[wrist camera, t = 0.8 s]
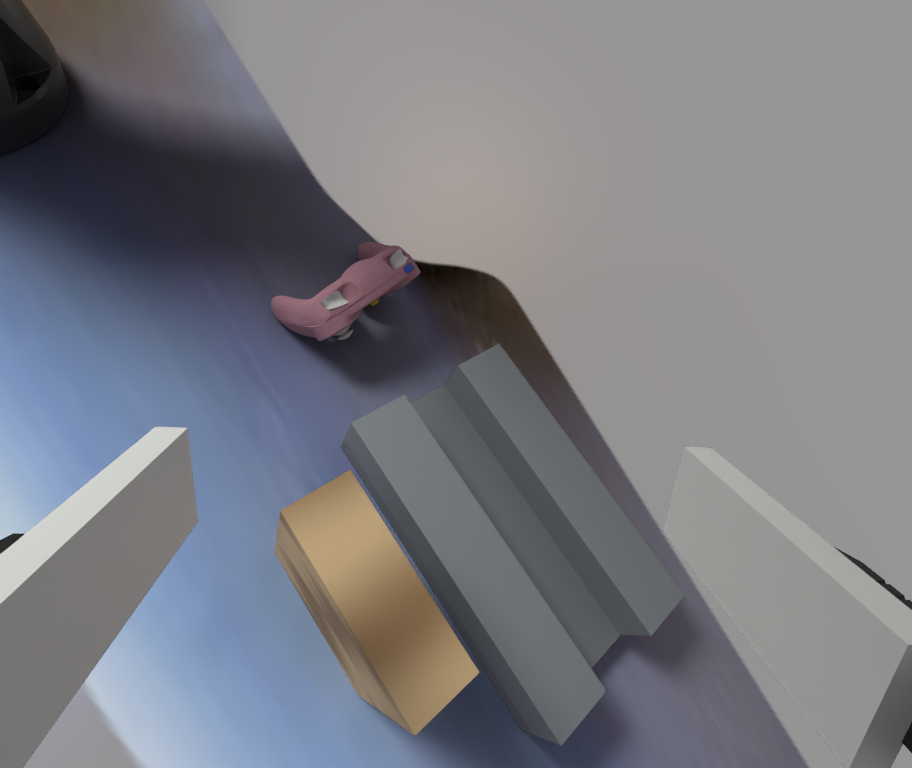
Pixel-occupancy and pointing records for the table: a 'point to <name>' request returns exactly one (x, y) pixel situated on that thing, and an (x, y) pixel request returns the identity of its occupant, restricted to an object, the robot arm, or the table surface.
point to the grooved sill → (513, 537)
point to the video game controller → (348, 293)
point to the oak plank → (371, 604)
